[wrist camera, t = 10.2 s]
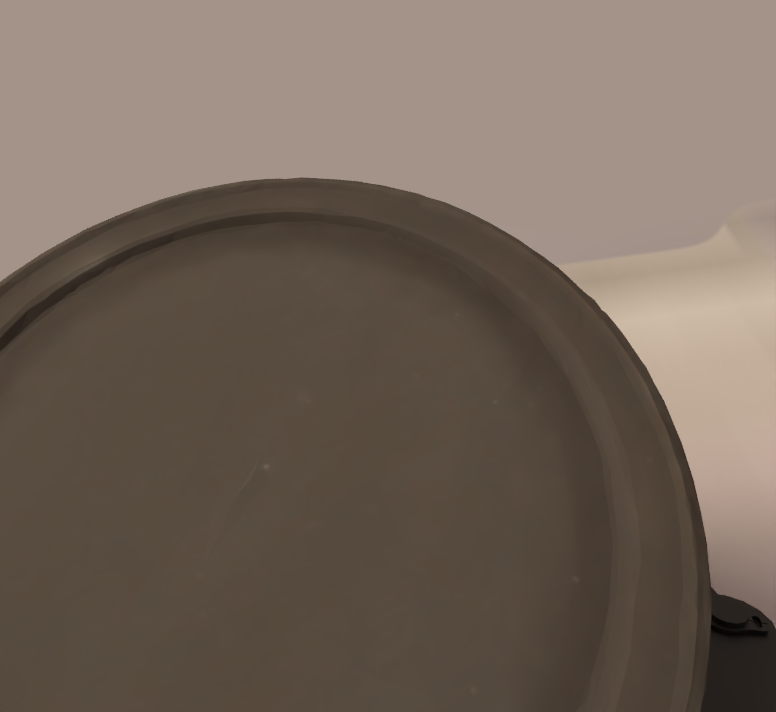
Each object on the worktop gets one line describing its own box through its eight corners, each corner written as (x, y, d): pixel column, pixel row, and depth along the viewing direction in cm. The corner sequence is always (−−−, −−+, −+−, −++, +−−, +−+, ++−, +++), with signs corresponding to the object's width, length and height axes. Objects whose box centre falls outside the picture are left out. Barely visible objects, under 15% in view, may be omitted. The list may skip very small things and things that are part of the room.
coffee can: (239, 457, 22) (33, 153, 10) (510, 488, 21) (654, 194, 9) (146, 791, 16) (-578, 1039, 4) (505, 852, 15) (857, 1386, 3)
